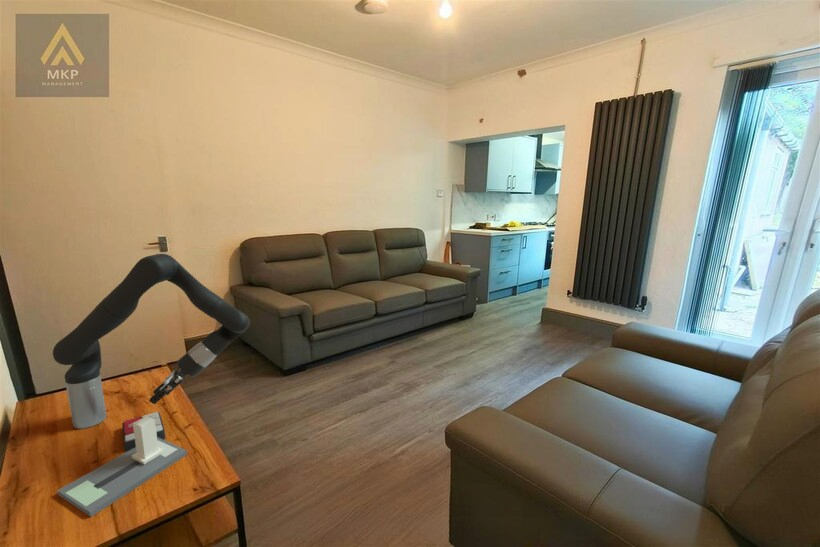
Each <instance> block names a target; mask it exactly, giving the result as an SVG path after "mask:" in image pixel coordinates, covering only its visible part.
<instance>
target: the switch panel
mask: <svg viewBox="0 0 820 547" xmlns="http://www.w3.org/2000/svg"><path fill="white" fill-rule="evenodd" d="M157 442H158V447H159V448H161V449H163V450H164V453H162V454H161V455H159V456H158V457H156V458H154V459H153V460H151V461H149V462H148V463H146V464H142V463H140V462H138V461H136V460H134V459H132V455H134V454H135V453H137V450H136V447H135V448H133V449H131V450H129V451H127V452H124V453H122V454H120V455H119V456H117V457H115V458H113V459H111V460H109V461H107V462H105V464H102V465H100V466H99V467H96V468H95V469H94V470H92V471H90V472H87V473H86V474H85V475H82V476H80V477H79V478H77V479H75V480H74V481H72V482H71V483H70V482H69V483H68V484H67V485H65V486H63V487H61V488H60V489H59V488H58V490H57V492H56V493H57V496H58V497H61V498H62V499H64V500H65V501H66V502H68V503H69V504H70V505H72V506H74V507H75V508H77V509H78V510H80V511H81V512H83V513H84V514H85V515H87V516H89V517H90V518H92V517H93V516H95V515H97V514H98V513H100V512H101V511H103V510H104V509H106V508H107V507H109V506H111V505H112V504H114V503H115V502H117V501H118V500H119V499H121V498H123V497H124V496H126V495H127V494H129V493H131V492H132V491H134V490H135V489H137V488H138V487H139V486H142V484H144V483H146V482H147V481H148V480H150V479H152V478H153V477H155V476H157V475H158V474H160V473H161V472H163V471H165V470H167V468H168V467H170V466H172V465H174V464H175V463H177V462H178V461H180V460H181V459H183V458H184V457H185V456H187V455H188V450H187V449H185V448H182V447H181V446H178V445H176V444H174V443H172V442H169V441H167V440H166V439H164V440H163V439H161V438H159V437H157Z"/></svg>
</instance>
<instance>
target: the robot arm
mask: <svg viewBox="0 0 820 547" xmlns="http://www.w3.org/2000/svg"><path fill="white" fill-rule="evenodd" d="M165 281H168V282H170V283H171V284H173V285H175V286H177V287H178V288H179V289H180V290H182V292H183V293H184V294H185V295H186V297H187V298H188V300H189V301H190V303H191V304H192V305H194V307H195V308H196V309H198V310H199V311H201V312H202V313H203V314H205V315H207V317H208V316H209V317H210V318H212V319H213V320H215V321H217V323H219V324H220V325H222V326H220V327H219V328H218V329H216V330H213V331H212V332H210V333H209V334H208V335H206V336H205V337H204V338H203V339H202V340H201V341H200V342H198V343H196V344H195V345H194V346H192V348H190V350H188V351H187V352H186V353H185V354H183V355H182V356H181V357H180V358H178V360H177V361H176V364H177V368H176V369H174V370H173V371H172V372H171V373H170V374H168V376H167V377H166V378H165V379H164V380H163V381H162V383H161V384H159V386H157V387H156V388H155V389H154V390H153V392H152V393H153V395H152V396H151V397H150V398H149V403H151V404H153V405H156V404H157V403H158V402H160V400H161V399H163V397H165V396H169V395H170V394H171V392H172V391H173V390H175V389H176V388H177V387H178V386H180V384H181V383H183V382H184V381H185V378H186V376H190V377H192V378H195V377H197V375H199V374H200V373H201V372H202V371H203V370H204V369H206V367H208V366H209V365H210V364H211V363H213V361H214V360H215V359H216V357H217V356H218V355H220V354H221V353H222V352H223V351H224V350H225V349H226V348H227V347H228V346H229V345H231V343H233V342H234V341H235V340H237V339H238V338H239V337H240V336H242V335H243V334H244V333H245V332H247V331H248V329H249V328H250V325H251V320H250V317H249V316H248V315H246V313H244V312H242V311H241V310H239V309H237V308H236V307H235V306H233V305H230V304H229V302H227V301H226V300H225V299H224V298H222V297H220V296H219V295H218V294H216V293H215V292H213V291H212V290H210V289H209V288H208V287H206V286H205V285H204V284H203V283H201V282H200V281H199V280H198V279H197V278H196V277H195V276H193V275H192V274H191V273H190V272H189V271H188V270H187V269H186V268H185V267H184V266H183V265H181V264H180V262H178V261H177V260H176V259H175V258H174V257H173V256H171V255H169V254H167V253H156V254H152V255H148V256H143V258H141V259H139V260H137V262H136V264H134V266H133V267H132V268H131V269H130V271H129V272H128V274H127V275H126V276H125V277H124V279H123V280H122V281H121V282H120V283H119V284H118V285H116V287H115V288H114V289H113V290H112V291H111V292H110V293H108V294H107V295H106V296H105V297H104V298H103V299H102V300H101V301H100V302H99V303H98V304H97V305H96V306H95V307H94V308H93V309H92V310H91V312H89V313H88V315H86V317H85V318H84V319H83V320H82V321H81V322H80V323H79V325H77V326H76V327H75V328H74V329H73V330H72V331H71V332H69V333H68V334H66V336H64V337H63V338H61V339H60V340H59V341H58V342H57V343H56V344H55V345H54V347H53V349H52V356H53V360H54V361H55V362H56V363H57V364H59V365H64V366H70V367H69V369H68V370H67V371H66V372H65V373H64V383H65V387H66V391H67V392H66V393H67V399H68V403H69V409H70V410H69V411H70V414H71V421H72V426H73V428H75V429H87V428H92V427H95V426H97V425H99V424H100V423H102V422H104V421H105V420H106V419H107V410H106V403H105V398H104V390H103V383H102V377H101V368H102V352H101V344H100V341H99V340H100V339H102V338H103V337H104V336H106V335H108V334H109V333H111V332H112V331H114V330H115V329H116V328H118V327H120V326H121V325H122V324H123V323H124V322H125V321H126V320H128V318H129V317H131V315H133V313H134V312H135V311H136V309H137V307H138V305H139V302H140V301H139V300H140V299H141V298H142V297H143V295H144V294H145V293H147V291H149V290H151V288H152V287H154V286H156V285H157V284H159V283H162V282H165Z"/></svg>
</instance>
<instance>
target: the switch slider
mask: <svg viewBox="0 0 820 547" xmlns="http://www.w3.org/2000/svg"><path fill="white" fill-rule="evenodd" d="M133 428H134V436H135V443H136V450H137V453H135V454H134V455H132V459H134V460H136V461H138V462H140V463H142V464H146V463H148V462H149V461H151V460H153V459H154V458H156V457H158V456H159V455H161V454H162V453H164V450H163V449H161V448H159V447H158V442H157V433H156V425H155V419H152V418H150V417H148V416H146V417H144V418H142V419H140V420H138V421H136V422H134V423H133Z"/></svg>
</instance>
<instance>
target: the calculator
mask: <svg viewBox="0 0 820 547" xmlns="http://www.w3.org/2000/svg"><path fill="white" fill-rule="evenodd" d="M146 416H148V417H150V418H152V419H155V425H156V433H157V437H159V438H161V439H163V440H166V432H165V426H164V423H163V420H162V416H161V413H160V411H156V412H150V413H148V414H144V415H142V417H141V416H138V417H134V418H129V419H126V420H124V421H123V422H122V427H121V428H122V436H123V447H124V453H126V452H127V451H129V450H131V449H133V448H135V447H136V443H135V436H134V428H133V423H134V422H136V421H138V420H140V419H142V418H144V417H146Z"/></svg>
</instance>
